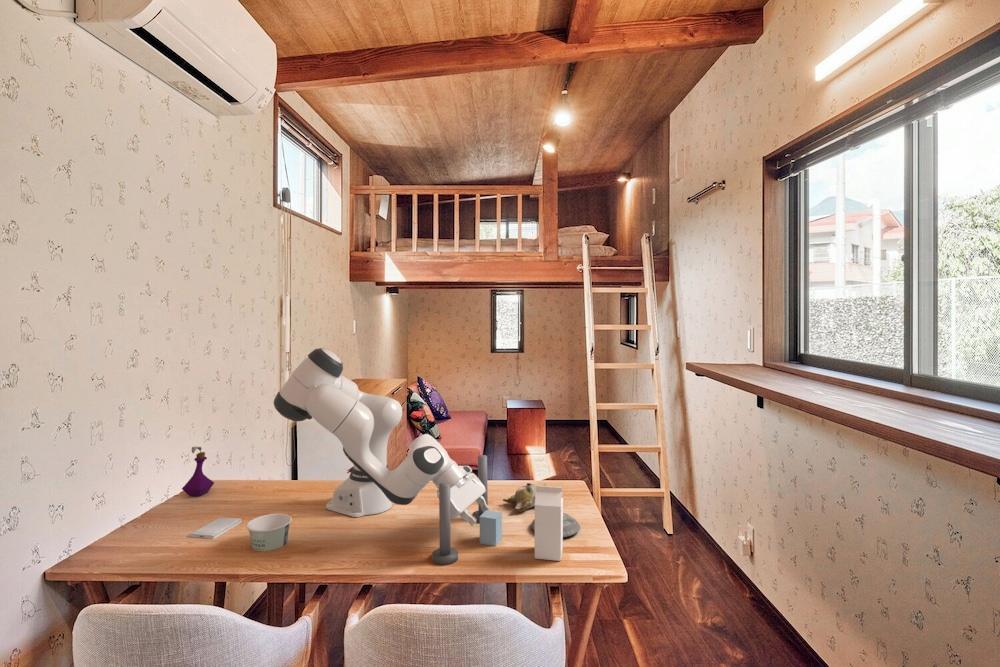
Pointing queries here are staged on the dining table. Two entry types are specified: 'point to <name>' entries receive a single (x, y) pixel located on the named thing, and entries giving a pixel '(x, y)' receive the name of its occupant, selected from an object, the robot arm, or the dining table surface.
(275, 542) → the food container
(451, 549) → the near post
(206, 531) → the hard drive
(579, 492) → the dining table surface
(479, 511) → the far post
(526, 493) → the ceramic sculpture
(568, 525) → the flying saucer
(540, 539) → the milk carton
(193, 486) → the perfume bottle
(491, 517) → the slate block
